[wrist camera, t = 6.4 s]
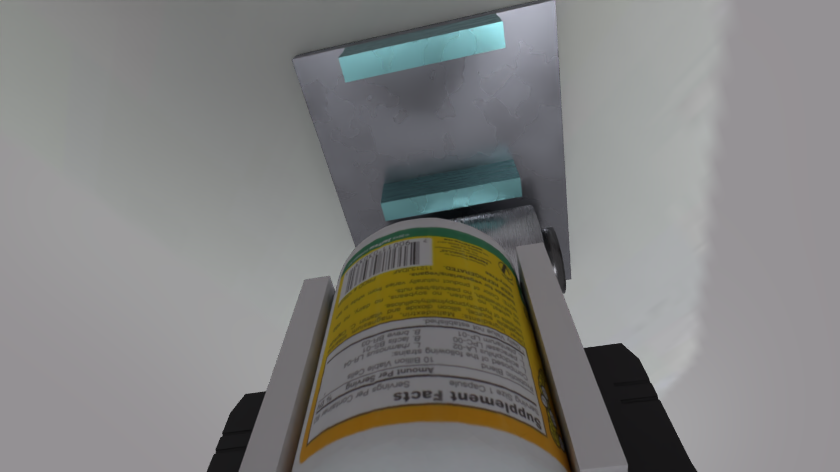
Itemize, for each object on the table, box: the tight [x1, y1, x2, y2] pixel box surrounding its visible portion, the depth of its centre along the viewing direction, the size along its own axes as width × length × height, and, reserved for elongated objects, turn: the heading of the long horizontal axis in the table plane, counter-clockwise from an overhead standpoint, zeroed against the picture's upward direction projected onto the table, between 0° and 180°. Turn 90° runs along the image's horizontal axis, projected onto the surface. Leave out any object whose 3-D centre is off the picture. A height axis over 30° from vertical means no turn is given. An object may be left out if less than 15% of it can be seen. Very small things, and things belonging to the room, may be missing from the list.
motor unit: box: [292, 0, 571, 294], centre depth 27 cm, size 18×14×10 cm
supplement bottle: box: [292, 218, 571, 472], centre depth 10 cm, size 5×5×10 cm
